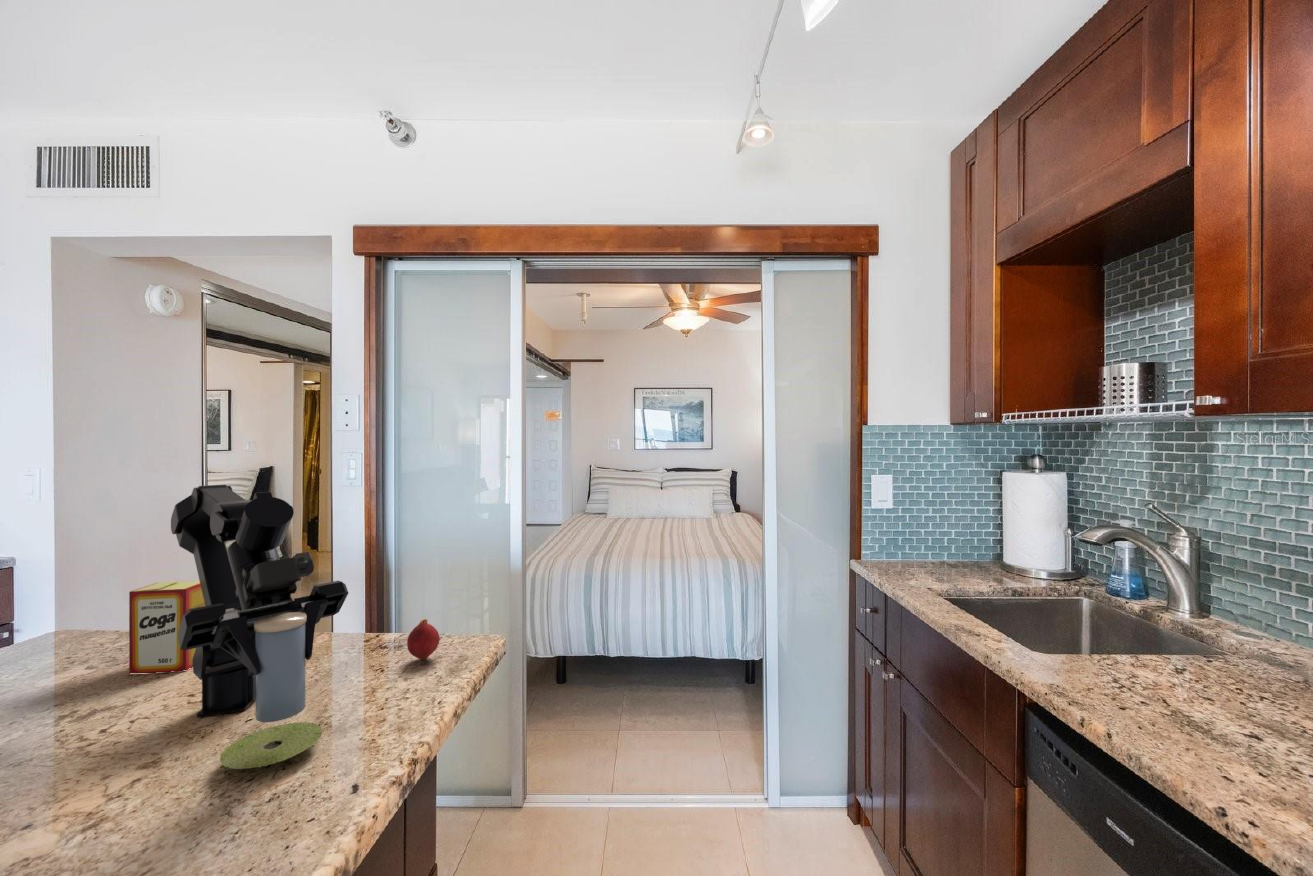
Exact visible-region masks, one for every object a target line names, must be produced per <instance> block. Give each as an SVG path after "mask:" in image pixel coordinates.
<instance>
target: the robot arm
mask: <svg viewBox="0 0 1313 876" xmlns="http://www.w3.org/2000/svg"><path fill="white" fill-rule="evenodd" d="M294 514H295V513H294V508H293V506H292V505H290V503H289V502H287V501H285V500H284V499H281V498H278V497H274V496H273V494H272V491H266V492H265V491H264V492H255V493H254V495H253V499H248V500H247V499H245V498H244V497H242V496H241V495H240V494H238V493H236V492H235V491H233V488H232V486H231V485H227V484H213V485H212V484H211V485H210V484H209V485H208V484H207V485H199V486H197V487H193V488H192V491H191V494H190V495H189V496H187V497H186V498H184V499H183V500H181V501H179V502H177V503H176V504H175V505H174V508H173V511H172V513H171V517H170V530H171V531H170V532H171V534H172V535H175V537H176V539H177V543H178V546H179V547H180V548H181V549H184V550H186V551H187V552H189V553H190V554H192V555H193V558H194V563H195V566H196V571H197V575H198V579H199V580H198V581H200V584H201V589H202V593H203V598H204V602H205V606H203V607H198V608H193V609H188V611H187V612H186V613H185V614H184V615H183V618H182V621H181V625H180V628H179V632H178V639H179V645H180V649H181V650H189V649H193V648H196V650H195V653H194V656H193V660H192V661H193V668H192V672H193V674H194V675H195V676H196V677H197V678H198V679H199V680H200V681H201V709H200V710H199V711H198V712H197V713H196V715H195V716H196V717H197V718H200V717H209V716H214V715H215V716H216V715H224V714H230V713H231V714H232V713H236V712H237V713H238V712H244V711H245V710H247V709H248V707H250V705H251V704H253V703H254V702H255V701H256V675H258V674H259V673H260V664H259V659H258V656H257V654H256V631H254V623H255V622H256V621H257V620H259V619H261V618H264V617H267V616H271V615H276V614H281V613H290V612H301V613H305V614H306V615H307V621H306V623H305V661H310V660H311V659H312V656H313V647H314V638H315V629H316V624H319V622H320V621H321V619H323V618H329V617H332V616H335V615H336V614H338V613H339V612H340V610H341V608H342V607H343V605H344V603H345V601H346V599H347V597H348V595H349V591H348V588H347V585H346V583H344V582H343V581H341V580H334V581H328V582H325V583H318V584H314V585H313V587H312V589H311V591H310V594H309V595H306V596H301V597H296V598H292V594H296V592H297V589H298V587H297V582H299V581H301V580H302V578H303V577H308V576H310V575H312V573H314V571H315V565H314V559H313V557H312V555H311V552H310V551H305V552H298V553H295V554H294V556H292V557H289V558H281V559H280V555H279V553H278V549H277V548H278V547H279V546H282V544H283V543H284V540H285V537H286V534H287V533H288V530H289V527H290V525H291V522H292V520H293V517H294ZM232 541H233V542H232ZM227 542H232V543H231V544H230V545H229V546H228V548H227V545H226V543H227Z"/></svg>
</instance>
